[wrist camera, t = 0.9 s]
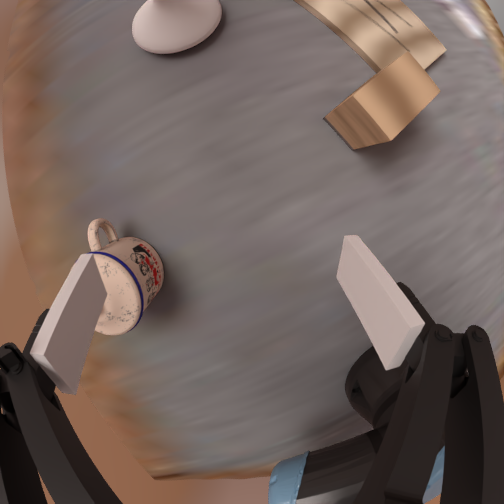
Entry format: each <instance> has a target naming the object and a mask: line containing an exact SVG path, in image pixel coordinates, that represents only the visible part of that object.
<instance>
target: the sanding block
mask: <svg viewBox="0 0 504 504" xmlns="http://www.w3.org/2000/svg"><path fill="white" fill-rule="evenodd" d="M439 92H440V90H439V88H438V87H437V86H436V84H435V83H434V82H433V80H432V79H431V78H430V77H429V75H428V74H427V73H426V72H425V70H424V69H423V68H422V67H421V65H420V64H419V63H418V62H417V61H416V59H415V58H414V57H413V56H412V55H411V54H410V53H409V52H408V51H407V52H406V53H404V54H403V55H401V56H400V57H399V58H397V59H396V60H394V61H393V62H392V63H390V64H389V65H388V66H386V67H385V68H384V69H382V70H381V71H379V72H378V73H377V74H375V75H374V76H373V77H371V78H370V79H369V80H368V81H366V82H365V83H364V84H363V85H362V86H360V87H359V88H358V89H357V90H356V91H354V92H353V93H352V94H351V95H350V96H348V97H347V98H346V99H345V100H344V101H343V102H341V103H340V104H339V105H338V106H337V107H336V108H334V109H333V110H332V111H331V112H330V113H329V114H327V115H326V116H325V117H324V118H323V119H324V120H325V121H326V122H327V123H328V124H329V125H330V126H331V128H332V129H333V130H334V131H335V132H336V133H337V134H338V135H339V136H340V137H341V139H342V140H343V141H344V142H345V143H346V144H347V145H348V147H349V148H350V149H351V150H354V149H358V148H363V147H367V146H371V145H375V144H380V143H384V142H389V141H391V140H392V139H393V138H394V137H396V136H397V135H398V134H399V133H400V132H401V131H402V130H403V129H404V128H405V127H406V126H407V125H408V124H409V123H410V122H411V121H412V120H413V119H414V118H415V117H416V116H417V115H418V114H419V113H420V112H421V111H422V110H423V109H424V108H425V107H426V106H427V105H428V104H429V103H430V102H431V101H432V99H433V98H434V97H435V96H436V95H437V94H438V93H439Z"/></svg>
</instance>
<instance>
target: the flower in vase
mask: <svg viewBox="0 0 504 504" xmlns="http://www.w3.org/2000/svg"><path fill="white" fill-rule="evenodd" d="M221 15H222V8H221V5H220V3H219V1H218V0H148V1H147V2H145V3H144V4H143V5H142V7H141V8H140V9H139V10H138V12H137V13H136V15H135V17H134V20H133V25H132V34H133V38H134V40H135V42H136V43H137V45H138V46H140V47H141V48H142V49H144V50H146V51H148V52H152V53H157V54H169V53H175V52H180V51H183V50H186V49H189V48H191V47H193V46H195V45H197V44H199V43H200V42H202V41H203V40H205V39H206V38H207V37H208V36H209V35H210V34H211V33H212V32H213V31H214V30H215V29H216V27H217V26H218V24H219V22H220V19H221Z"/></svg>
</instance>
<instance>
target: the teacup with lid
mask: <svg viewBox="0 0 504 504" xmlns="http://www.w3.org/2000/svg"><path fill="white" fill-rule="evenodd" d="M99 227H101V228H102V229H103V230H104V231H105V233H106V235H107V237H108V240H109V244H108V245H106V246H104V247H101V244H100V241H99V236H98V229H99ZM88 240H89V244H90V248H91V251H92V252H89V253H87V254H91V253H93V255H94V258H95V261H96V264H97V267H98V270H99V272H100V275H101V278H102V281H103V283H104V286H105V289H106V291H107V297H106V300H105V302H104V305H103V308H102V311H101V313H100V316H99V319H98V322H97V325H96V328H95V331H97V332H100V333H103V334H106V335H120V334H124V333H126V332H128V331H130V330H132V329H133V328H134V327H135V326H136V325H137V324H138V323H139V321H140V319H141V317H142V314H143V312H144V310H145V309H146V308H147V306H148V305H149V304H150V302H151V301H152V300H153V298H154V297H155V296H156V294H157V293H158V292H159V290H160V288H161V286H162V283H163V278H164V270H163V265H162V262H161V259H160V257H159V255H158V254H157V252H156V251H155V250H154V249H153V247H152V246H150V245H149V244H148V243H147V242H145V241H143V240H141V239H138V238H135V237H124V238H120V239H118V237H117V234H116V231H115V229H114V227H113V226H112V224H111V223H110V222H109V221H107V220H106V219H103V218H99V219H96V220H93V221H92V222H91V223H90V225H89V228H88ZM76 262H77V261H76ZM76 262H75V263H76ZM75 263H74V265H75ZM74 265H73V267H74ZM73 267H72V268H73ZM71 270H72V269H71ZM70 272H71V271H70Z"/></svg>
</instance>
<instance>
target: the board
mask: <svg viewBox="0 0 504 504" xmlns="http://www.w3.org/2000/svg"><path fill="white" fill-rule="evenodd" d="M294 1H295V2H297V3H298V4H299V5H301V6H302V7H304V8H305V9H306V10H308V11H309V12H310V13H311V14H313V15H314V16H315V17H317V18H318V19H319V20H320V21H322V22H323V23H324V24H325V25H326V26H328V27H329V28H330V29H331V30H332V31H333V32H335V33H336V34H337V35H338V36H339V37H340V38H341V39H343V40H344V41H345V42H346V43H347V44H348V45H349V46H350V47H351V48H352V49H353V50H354V51H355V52H356V53H357V54H358V55H359V56H360V57H361V58H362V59H363V60H364V61H365V62H366V63H367V64H368V65H369V66H370V67H371V68H372V69H373V70H374V71H375V72H376V73H378V72H379V71H381V70H382V69H384V68H385V67H386V66H388V65H389V64H390V63H392V62H393V61H394V60H396V59H397V58H399V57H400V56H401V55H403V54H404V53H406V52H407V51H408V52H409V53H410V54H411V55H412V56H413V57H414V58H415V59H416V61H417V62H418V63H419V64H420V65H421V67H422V68H423V69H426V68H427V67H428V66H429V65H430V64H431V63H432V62H434V61H435V60H436V59H437V58H438V57H439V56H440V55H442V54H443V53H444V52H445V51H446V49H445V47H444V46H443V45H442V44H441V42H440V41H439V40H438V39H437V38H436V37H435V35H434V34H433V33H432V32H431V31H430V30H429V29H428V28H427V27H426V26H425V24H424V23H423V22H422V21H421V20H420V19H419V18H418V17H417V16H416V15H415V14H414V13H413V12H412V11H411V10H410V9H409V8H408V7H407V6H406V5H405V4H404V3H403V2H401V1H400V0H294Z"/></svg>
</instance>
